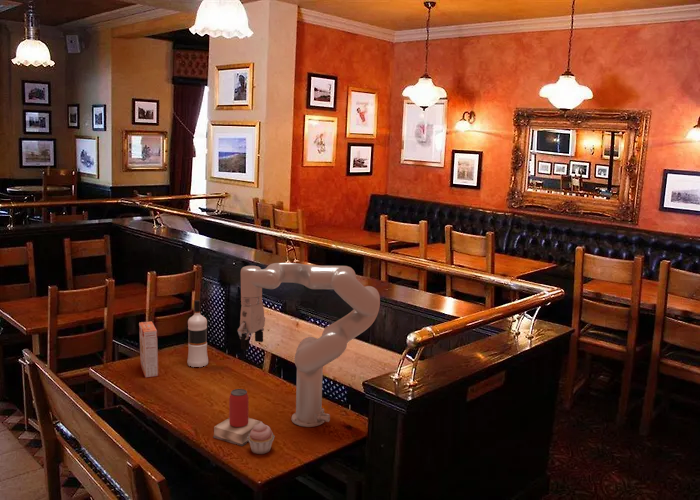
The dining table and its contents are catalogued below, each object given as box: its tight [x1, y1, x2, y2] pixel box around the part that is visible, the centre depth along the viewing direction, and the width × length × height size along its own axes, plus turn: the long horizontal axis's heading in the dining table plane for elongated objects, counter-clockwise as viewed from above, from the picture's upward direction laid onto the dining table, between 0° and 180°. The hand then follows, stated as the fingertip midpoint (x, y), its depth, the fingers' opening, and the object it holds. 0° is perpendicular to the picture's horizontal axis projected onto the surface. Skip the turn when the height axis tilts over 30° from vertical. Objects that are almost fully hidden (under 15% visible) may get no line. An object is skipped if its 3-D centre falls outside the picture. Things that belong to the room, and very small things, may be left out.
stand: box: [212, 417, 263, 447], centre depth 231 cm, size 12×12×4 cm
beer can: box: [228, 388, 249, 427], centre depth 230 cm, size 7×7×12 cm
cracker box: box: [138, 321, 159, 379], centre depth 285 cm, size 14×6×21 cm, turn 25°
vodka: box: [186, 299, 209, 368], centre depth 294 cm, size 9×9×30 cm
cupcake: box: [247, 421, 275, 455], centre depth 220 cm, size 9×9×10 cm
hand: (252, 345), depth 240 cm, fingers open, 9 cm apart
